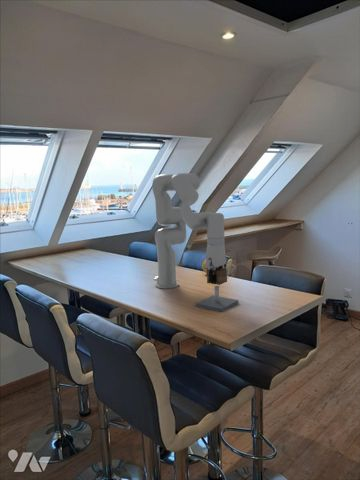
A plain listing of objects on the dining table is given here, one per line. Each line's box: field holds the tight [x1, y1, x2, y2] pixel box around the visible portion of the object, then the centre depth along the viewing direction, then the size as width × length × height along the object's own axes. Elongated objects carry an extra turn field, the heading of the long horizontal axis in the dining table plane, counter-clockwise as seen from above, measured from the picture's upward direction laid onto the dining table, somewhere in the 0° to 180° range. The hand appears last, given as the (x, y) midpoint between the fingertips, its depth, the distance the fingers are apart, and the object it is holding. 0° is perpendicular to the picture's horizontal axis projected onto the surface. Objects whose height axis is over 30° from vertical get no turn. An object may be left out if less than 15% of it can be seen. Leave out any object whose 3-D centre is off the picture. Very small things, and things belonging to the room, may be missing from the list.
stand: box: [194, 285, 239, 313], centre depth 166 cm, size 14×14×8 cm
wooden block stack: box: [206, 267, 228, 286], centre depth 164 cm, size 6×6×6 cm
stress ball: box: [201, 258, 218, 274], centre depth 223 cm, size 10×10×10 cm
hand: (216, 280), depth 165 cm, fingers closed on wooden block stack, 6 cm apart
